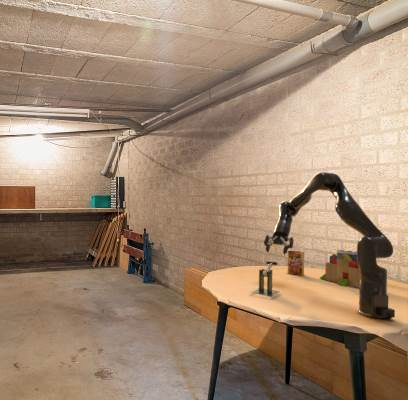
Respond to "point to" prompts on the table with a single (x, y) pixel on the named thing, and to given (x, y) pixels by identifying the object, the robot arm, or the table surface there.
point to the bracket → (269, 284)
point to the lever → (268, 268)
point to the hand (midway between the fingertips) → (275, 252)
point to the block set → (343, 269)
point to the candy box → (296, 262)
